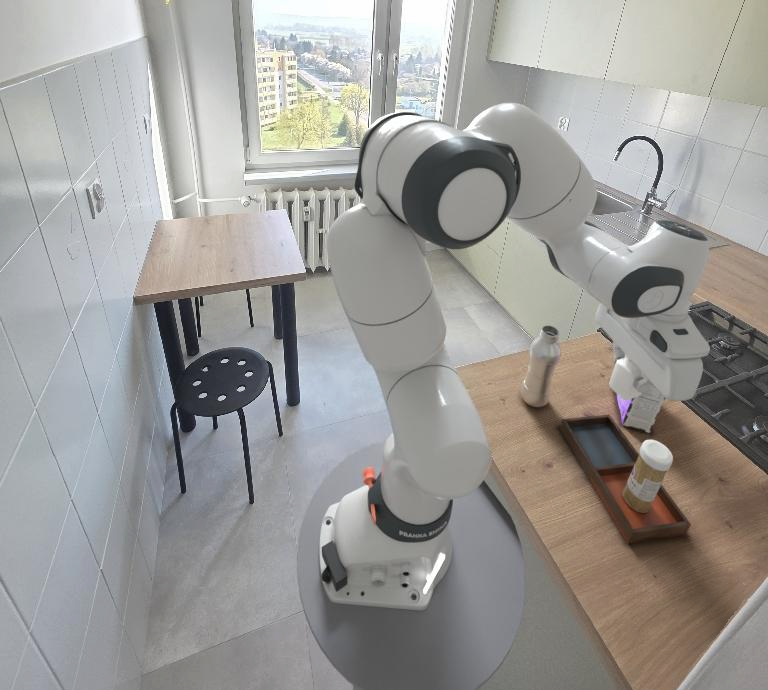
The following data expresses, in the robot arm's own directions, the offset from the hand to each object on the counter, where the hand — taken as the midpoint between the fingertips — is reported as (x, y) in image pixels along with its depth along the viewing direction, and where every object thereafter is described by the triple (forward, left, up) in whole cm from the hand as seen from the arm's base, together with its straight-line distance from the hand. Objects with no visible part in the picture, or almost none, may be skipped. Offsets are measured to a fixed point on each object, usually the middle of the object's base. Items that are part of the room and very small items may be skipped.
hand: (628, 376), depth 74 cm
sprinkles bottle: (+2, -8, -22) cm, 23 cm away
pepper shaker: (0, 0, -4) cm, 4 cm away
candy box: (+16, +12, -23) cm, 30 cm away
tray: (+2, -3, -23) cm, 23 cm away
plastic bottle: (-6, +16, -23) cm, 28 cm away
